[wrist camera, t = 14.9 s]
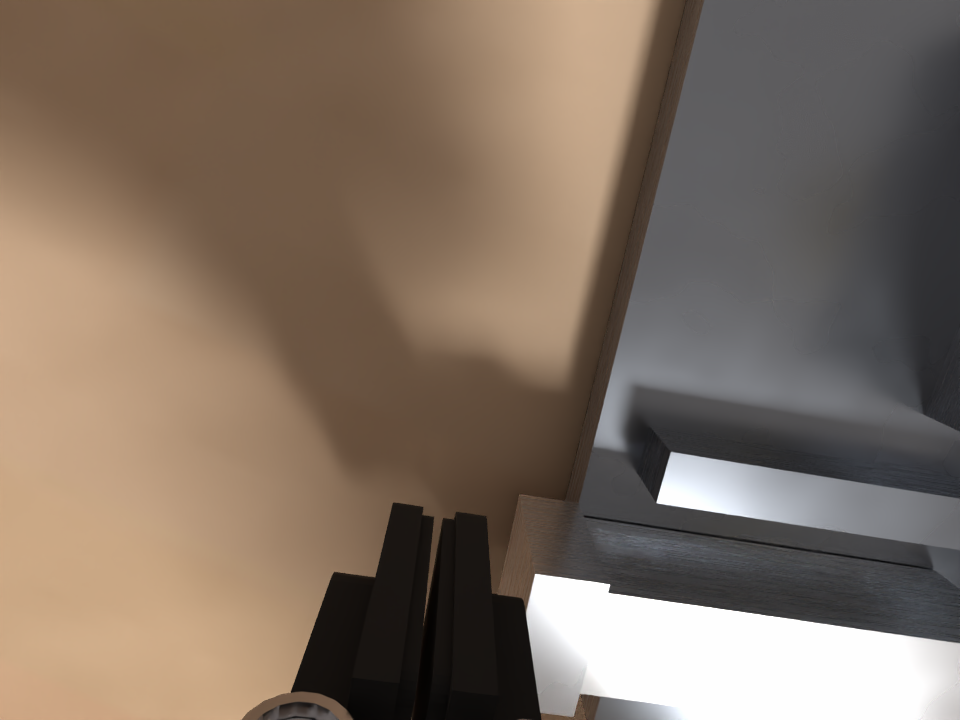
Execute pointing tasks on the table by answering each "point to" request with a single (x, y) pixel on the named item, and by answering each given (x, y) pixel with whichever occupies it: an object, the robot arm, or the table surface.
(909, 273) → the dock
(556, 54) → the table surface
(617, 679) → the lock pin
